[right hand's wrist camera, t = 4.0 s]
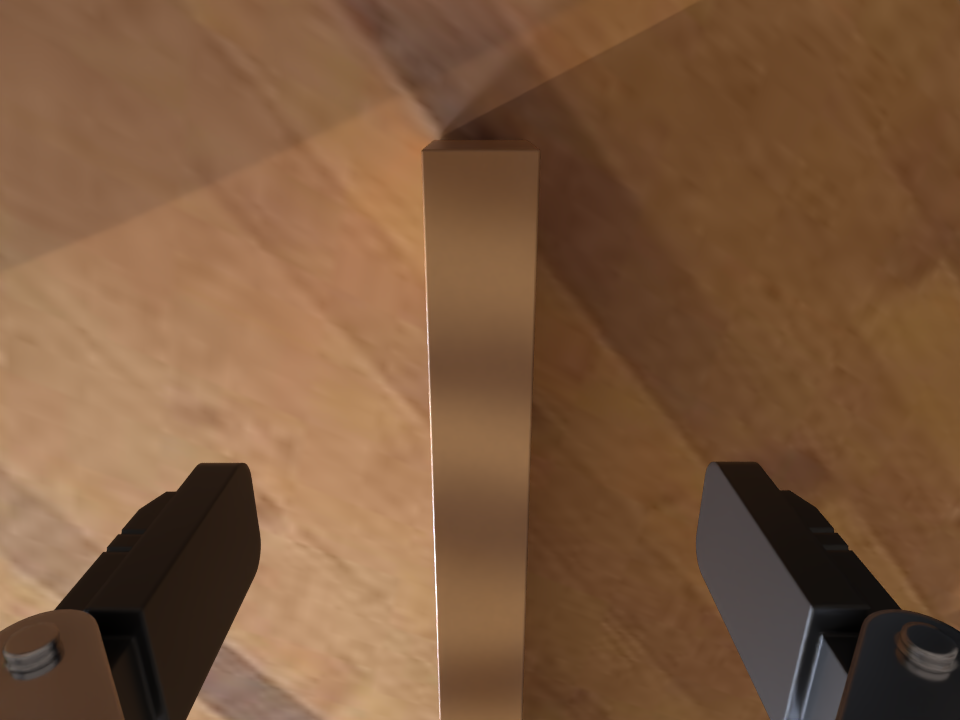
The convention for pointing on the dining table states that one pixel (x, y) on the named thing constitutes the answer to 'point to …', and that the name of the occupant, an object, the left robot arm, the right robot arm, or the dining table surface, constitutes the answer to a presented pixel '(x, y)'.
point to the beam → (480, 412)
